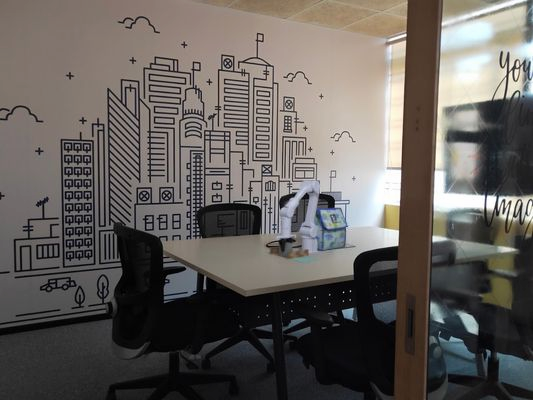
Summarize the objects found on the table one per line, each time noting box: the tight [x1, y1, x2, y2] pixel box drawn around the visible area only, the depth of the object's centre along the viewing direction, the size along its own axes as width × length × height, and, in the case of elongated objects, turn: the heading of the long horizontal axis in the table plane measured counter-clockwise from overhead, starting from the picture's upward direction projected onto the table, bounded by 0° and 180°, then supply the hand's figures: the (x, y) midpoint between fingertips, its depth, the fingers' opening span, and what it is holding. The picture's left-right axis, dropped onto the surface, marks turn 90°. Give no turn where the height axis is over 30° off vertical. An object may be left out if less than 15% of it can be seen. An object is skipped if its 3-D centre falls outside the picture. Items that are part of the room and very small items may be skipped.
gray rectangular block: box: [278, 242, 294, 256], centre depth 257 cm, size 4×8×8 cm, turn 39°
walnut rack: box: [269, 246, 310, 260], centre depth 259 cm, size 16×16×4 cm
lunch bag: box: [314, 207, 348, 252], centre depth 285 cm, size 22×17×26 cm
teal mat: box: [291, 256, 319, 263], centre depth 248 cm, size 12×9×1 cm
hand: (285, 251), depth 257 cm, fingers closed on gray rectangular block, 3 cm apart
